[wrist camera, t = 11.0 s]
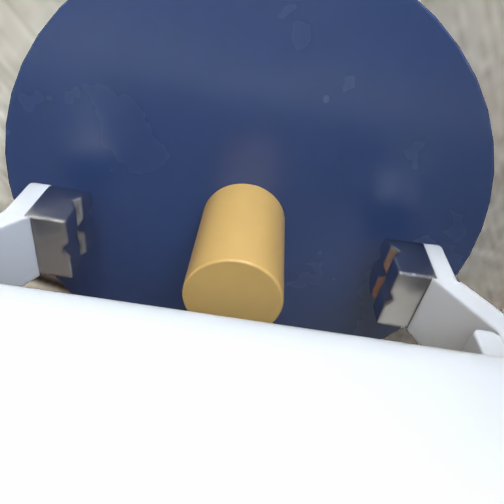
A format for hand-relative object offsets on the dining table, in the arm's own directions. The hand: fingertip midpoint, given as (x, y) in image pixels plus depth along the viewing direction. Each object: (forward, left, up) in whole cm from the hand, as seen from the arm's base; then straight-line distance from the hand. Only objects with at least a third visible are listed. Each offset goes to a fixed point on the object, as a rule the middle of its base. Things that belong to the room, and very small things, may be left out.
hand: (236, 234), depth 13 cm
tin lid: (0, 0, -2) cm, 2 cm away
